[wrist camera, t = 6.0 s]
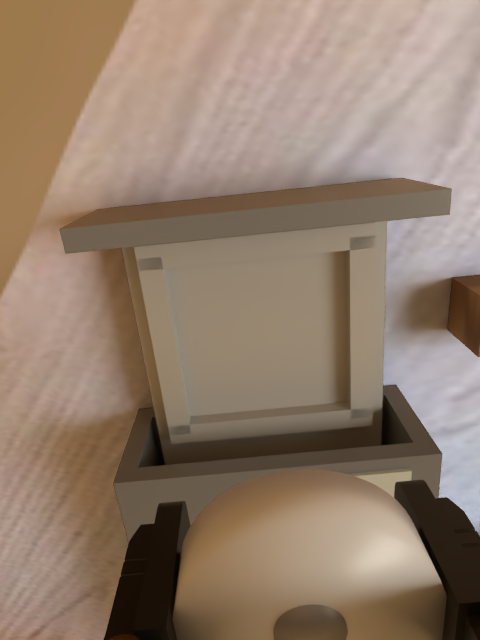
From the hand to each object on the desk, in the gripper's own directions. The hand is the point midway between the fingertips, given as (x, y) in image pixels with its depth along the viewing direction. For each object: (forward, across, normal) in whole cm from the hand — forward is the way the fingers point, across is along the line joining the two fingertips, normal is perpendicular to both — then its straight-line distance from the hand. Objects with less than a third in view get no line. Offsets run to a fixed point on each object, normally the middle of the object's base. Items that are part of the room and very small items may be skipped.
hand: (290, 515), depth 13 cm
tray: (+14, 0, +2) cm, 14 cm away
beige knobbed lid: (-2, 0, 0) cm, 2 cm away
